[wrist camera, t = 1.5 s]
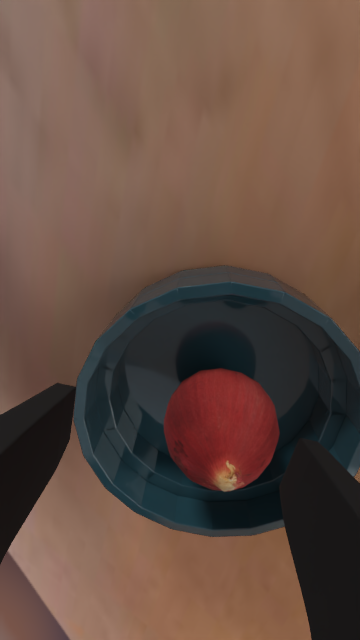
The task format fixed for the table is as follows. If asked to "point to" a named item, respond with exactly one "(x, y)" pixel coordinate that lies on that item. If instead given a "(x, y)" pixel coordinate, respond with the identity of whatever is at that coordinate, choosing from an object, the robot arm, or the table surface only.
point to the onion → (221, 429)
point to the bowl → (204, 354)
